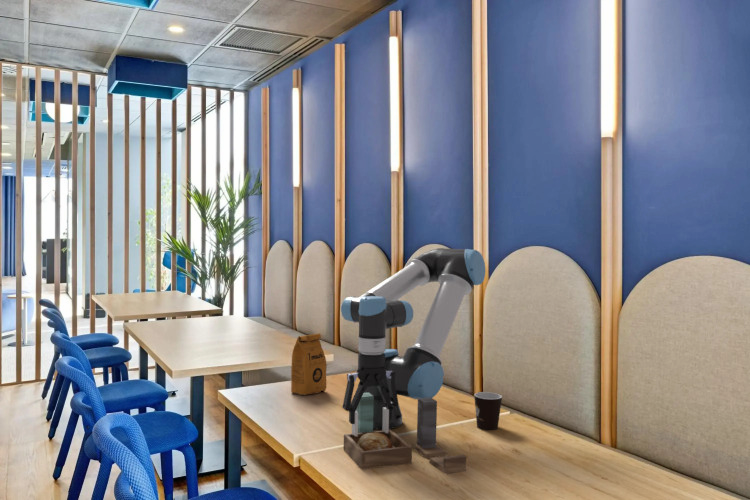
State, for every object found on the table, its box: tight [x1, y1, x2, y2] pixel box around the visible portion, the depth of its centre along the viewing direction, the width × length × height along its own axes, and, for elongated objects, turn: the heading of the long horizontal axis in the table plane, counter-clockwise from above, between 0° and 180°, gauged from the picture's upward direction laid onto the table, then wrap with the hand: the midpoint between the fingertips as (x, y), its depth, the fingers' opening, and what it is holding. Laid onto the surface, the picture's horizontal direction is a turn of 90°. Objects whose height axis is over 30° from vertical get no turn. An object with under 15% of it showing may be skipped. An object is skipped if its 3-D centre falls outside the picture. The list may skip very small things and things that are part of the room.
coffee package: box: [290, 332, 327, 396], centre depth 230 cm, size 10×12×22 cm
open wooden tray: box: [343, 393, 413, 470], centre depth 168 cm, size 20×14×14 cm
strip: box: [429, 454, 467, 475], centre depth 159 cm, size 8×6×4 cm
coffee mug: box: [473, 391, 503, 431], centre depth 194 cm, size 12×9×10 cm
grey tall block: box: [412, 398, 447, 459], centre depth 169 cm, size 8×6×14 cm
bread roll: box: [357, 433, 393, 451], centre depth 165 cm, size 10×10×8 cm
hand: (370, 433), depth 171 cm, fingers open, 8 cm apart
